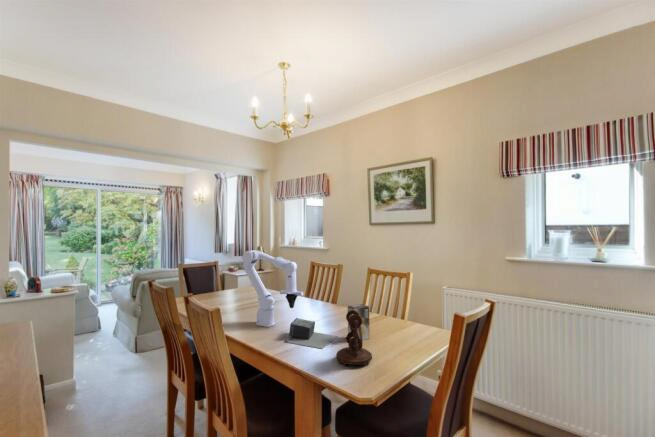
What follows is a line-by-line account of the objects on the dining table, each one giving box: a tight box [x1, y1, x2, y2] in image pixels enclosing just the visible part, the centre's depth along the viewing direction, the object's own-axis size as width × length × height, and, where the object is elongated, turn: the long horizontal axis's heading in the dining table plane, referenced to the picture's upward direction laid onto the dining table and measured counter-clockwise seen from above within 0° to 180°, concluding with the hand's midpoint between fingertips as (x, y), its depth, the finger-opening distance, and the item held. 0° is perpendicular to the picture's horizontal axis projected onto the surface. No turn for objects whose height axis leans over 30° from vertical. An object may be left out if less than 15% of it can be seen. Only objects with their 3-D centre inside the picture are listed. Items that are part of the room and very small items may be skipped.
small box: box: [288, 317, 316, 340], centre depth 159 cm, size 11×6×10 cm
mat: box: [284, 331, 338, 350], centre depth 155 cm, size 20×18×1 cm
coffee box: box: [347, 303, 371, 341], centre depth 156 cm, size 9×6×16 cm
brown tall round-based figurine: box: [335, 310, 373, 367], centre depth 130 cm, size 15×15×20 cm
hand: (291, 307), depth 175 cm, fingers closed
